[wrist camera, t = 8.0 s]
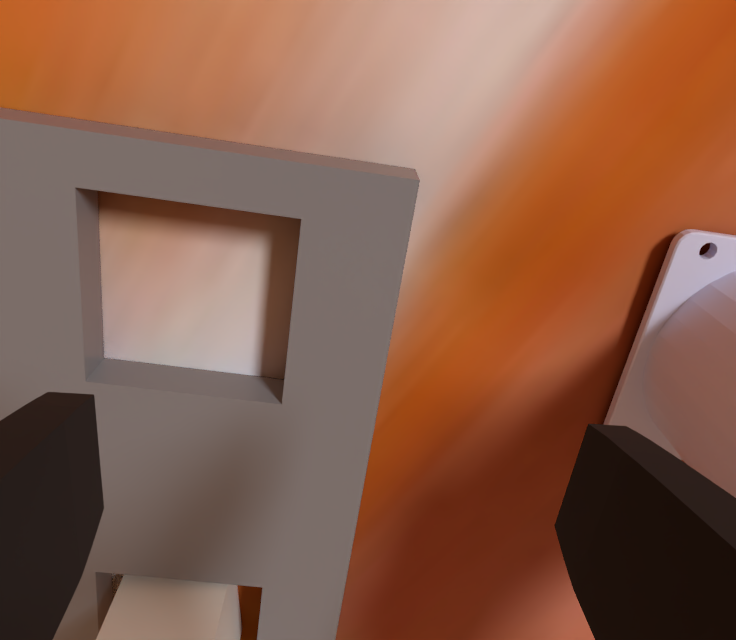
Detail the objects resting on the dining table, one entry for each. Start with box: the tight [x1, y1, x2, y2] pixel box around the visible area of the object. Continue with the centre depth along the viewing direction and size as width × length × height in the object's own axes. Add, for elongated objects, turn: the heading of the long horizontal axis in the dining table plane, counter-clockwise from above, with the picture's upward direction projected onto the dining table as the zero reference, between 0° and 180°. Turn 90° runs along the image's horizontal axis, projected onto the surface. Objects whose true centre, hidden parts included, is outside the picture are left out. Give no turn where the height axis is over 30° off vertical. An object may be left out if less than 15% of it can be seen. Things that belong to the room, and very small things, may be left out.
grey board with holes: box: [0, 108, 420, 640], centre depth 21 cm, size 12×23×2 cm, turn 172°
